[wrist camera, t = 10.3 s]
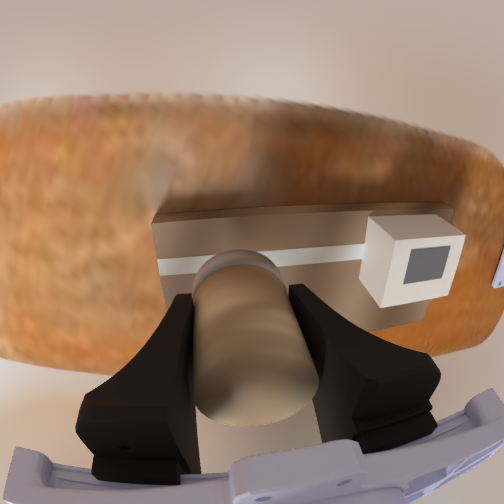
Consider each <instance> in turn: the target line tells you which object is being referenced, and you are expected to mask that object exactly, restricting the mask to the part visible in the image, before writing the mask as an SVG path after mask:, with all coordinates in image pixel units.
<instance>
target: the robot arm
mask: <svg viewBox="0 0 504 504" xmlns="http://www.w3.org/2000/svg"><path fill="white" fill-rule="evenodd" d="M492 286H493V287H494V288H498V287H502V286H504V249H503V252H502V256H501V259H500V262H499V265H498V268H497V271H496V273H495V276H494V279H493V282H492ZM288 298H289V300H290V303H291V306H292V308H293V311H294V313H295V316H296V319H297V321H298V324H299V326H300V329H301V331H302V334H303V337H304V339H305V342H306V345H307V347H308V350H309V352H310V355H311V358H312V360H313V363H314V366H315V368H316V371H317V374H318V377H319V386H318V389H317V392H316V394H315V395H314V397H313V398H312V400H313V404H314V408H315V412H316V416H317V421H318V425H319V429H320V434H321V439H322V443H321V444H316V445H311V446H306V447H301V448H295V449H289V450H283V451H277V452H270V453H263V454H258V455H253V456H249V457H245V458H243V459H241V460H238V461H236V462H234V463H233V464H232V465H231V467H230V469H229V471H228V472H227V473H212V474H201V467H200V458H199V448H198V437H197V424H196V409H195V402H194V397H193V312H194V306H193V300H192V293H186V294H177V295H176V296H175V297H174V299H173V301H172V303H171V305H170V307H169V309H168V311H167V313H166V314H165V316H164V318H163V319H162V321H161V323H160V324H159V326H158V327H157V329H156V330H155V332H154V333H153V334H152V336H151V337H150V339H149V340H148V341H147V343H146V344H145V345H144V346H143V348H142V349H141V350H140V351H139V352H138V353H137V354H136V355H135V357H134V358H133V359H132V360H131V361H130V362H129V363H128V364H127V365H125V366H124V367H123V368H122V369H121V370H120V371H119V372H117V373H116V374H115V375H114V376H112V377H111V378H110V379H109V380H107V381H106V382H104V383H103V384H101V385H100V386H98V387H97V388H95V389H93V390H92V391H90V392H89V393H87V394H85V397H84V399H83V402H82V404H81V407H80V410H79V415H78V418H77V423H76V427H75V428H76V433H77V435H78V436H79V438H80V439H81V440H82V442H83V443H84V444H85V445H86V446H87V448H88V449H89V450H90V451H91V452H92V453H93V454H94V457H93V463H92V469H86V468H79V467H73V466H67V465H62V464H56V463H52V462H51V460H50V459H49V458H48V457H47V456H45V455H44V454H42V453H40V452H38V451H34V450H30V449H25V448H21V447H15V450H14V454H13V457H12V461H11V464H10V468H9V473H8V476H7V481H6V485H5V489H4V494H3V499H4V500H5V501H6V502H8V503H9V504H409V503H411V502H413V501H415V500H417V499H419V498H421V497H423V496H425V495H427V494H429V493H431V492H432V491H435V490H437V489H438V488H440V487H442V486H444V485H445V484H447V483H449V482H451V481H452V480H454V479H456V478H457V477H459V476H461V475H462V474H464V473H466V472H467V471H469V470H471V469H472V468H474V467H476V466H477V465H479V464H480V463H482V462H483V461H485V460H487V459H488V458H489V457H490V456H492V455H493V454H494V453H495V452H496V451H497V450H498V449H499V448H500V447H501V446H502V445H503V444H504V404H503V402H502V401H501V400H500V398H499V397H498V395H497V394H496V393H495V391H494V390H493V388H490V389H488V390H486V391H484V392H482V393H480V394H478V395H476V396H475V397H473V398H472V399H471V400H470V401H469V402H468V403H467V405H466V406H465V408H464V410H462V411H460V412H457V413H455V414H453V415H451V416H449V417H446V418H444V419H442V420H439V421H437V422H436V421H435V419H434V417H433V415H432V414H431V412H430V410H432V405H431V403H430V402H429V399H430V397H431V396H432V394H433V392H434V391H435V389H436V387H437V385H438V383H439V381H440V378H441V373H440V370H439V369H438V367H437V366H436V364H435V363H434V361H433V360H432V359H431V357H430V356H429V355H428V354H426V353H422V352H418V351H414V350H411V349H407V348H404V347H401V346H398V345H395V344H393V343H390V342H388V341H385V340H383V339H381V338H379V337H377V336H375V335H372V334H371V333H369V332H367V331H365V330H363V329H362V328H360V327H358V326H356V325H355V324H353V323H352V322H350V321H348V320H347V319H346V318H344V317H343V316H341V315H340V314H339V313H337V312H336V311H335V310H333V309H332V308H331V307H330V306H328V305H327V304H326V303H325V302H324V301H322V300H321V299H320V298H319V297H318V296H317V295H315V294H314V293H313V292H312V291H311V290H310V289H309V288H308V287H306V286H305V285H304V284H303V283H302V284H292V285H289V291H288Z"/></svg>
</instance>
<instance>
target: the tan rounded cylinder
mask: <svg viewBox="0 0 504 504" xmlns="http://www.w3.org/2000/svg"><path fill="white" fill-rule="evenodd" d="M193 306H194V312H193V397H194V402H195V405H196V406H197V408H198V409H199V410H200V412H201V413H202V414H204V415H205V416H206V417H208V418H210V419H212V420H214V421H216V422H219V423H222V424H226V425H231V426H245V427H246V426H247V427H248V426H259V425H265V424H270V423H274V422H277V421H280V420H282V419H285V418H287V417H289V416H291V415H293V414H295V413H296V412H298V411H299V410H301V409H302V408H304V407H305V406H306V405H307V404H308V403H309V402H310V401H311V400H312V398H313V397H314V395H315V394H316V392H317V389H318V386H319V377H318V374H317V371H316V368H315V366H314V363H313V360H312V358H311V355H310V352H309V350H308V347H307V345H306V342H305V339H304V337H303V334H302V331H301V329H300V326H299V324H298V321H297V319H296V316H295V313H294V311H293V308H292V306H291V303H290V300H289V298H288V294H287V290H286V287H285V284H284V282H283V279H282V277H281V274H280V272H279V270H278V268H277V266H276V265H275V264H274V263H273V262H272V261H271V260H270V259H269V258H268V257H266V256H264V255H263V254H261V253H258V252H255V251H251V250H245V249H235V250H229V251H225V252H222V253H219V254H217V255H215V256H213V257H212V258H210V259H209V260H207V261H206V262H205V263H204V264H203V265H202V266H201V268H200V269H199V270H198V272H197V274H196V276H195V279H194V283H193Z"/></svg>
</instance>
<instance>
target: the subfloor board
mask: <svg viewBox="0 0 504 504" xmlns="http://www.w3.org/2000/svg"><path fill="white" fill-rule="evenodd" d="M453 212H454V209H453V208H452V207H450V206H448V205H447V204H445V203H443V202H401V203H346V204H316V205H292V206H271V207H253V208H237V209H222V210H208V211H194V212H182V213H170V214H158V215H155V216H154V218H153V221H152V223H151V224H152V231H153V237H154V243H155V250H156V255H157V262H158V267H159V273H160V278H161V283H162V288H163V294H164V299H165V304H166V308H167V311H168V309H169V307H170V305H171V303H172V301H173V299H174V297H175V296H176V295H177V294H186V293H192V300H193V283H194V279H195V276H196V274H197V272H198V270H199V269H200V268H201V266H202V265H203V264H204V263H205V262H206V261H207V260H209V259H210V258H212V257H213V256H215V255H217V254H219V253H222V252H225V251H229V250H235V249H245V250H251V251H255V252H258V253H261V254H263V255H264V256H266V257H268V258H269V259H270V260H271V261H272V262H273V263H274V264H275V265H276V266H277V268H278V270H279V272H280V274H281V277H282V279H283V282H284V284H285V287H286V290H287V294H288V291H289V285H292V284H302V283H303V284H304V285H305V286H306V287H308V288H309V289H310V290H311V291H312V292H313V293H314V294H315V295H317V296H318V297H319V298H320V299H321V300H322V301H324V302H325V303H326V304H327V305H328V306H330V307H331V308H332V309H333V310H335V311H336V312H337V313H339V314H340V315H341V316H343V317H344V318H346V319H347V320H348V321H350V322H352V323H353V324H355V325H356V326H358V327H360V328H362V329H363V330H365V331H367V332H369V331H375V330H380V329H385V328H390V327H395V326H399V325H404V324H409V323H413V322H418V321H422V320H423V318H424V315H425V313H426V310H427V307H428V304H429V301H430V299H427V300H422V301H417V302H412V303H407V304H401V305H396V306H390V307H384V308H380V307H379V306H378V304H377V303H376V302H375V300H374V299H373V297H372V296H371V295H370V293H369V292H368V291H367V289H366V288H365V286H364V285H363V284H362V282H361V281H360V280H359V274H360V268H361V262H362V256H363V250H364V243H365V237H366V230H367V222H368V216H394V215H426V214H436V215H438V216H439V217H441V218H442V219H444V220H445V221H447V222H448V223H450V224H451V222H452V217H453Z"/></svg>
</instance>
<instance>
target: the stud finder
mask: <svg viewBox="0 0 504 504" xmlns="http://www.w3.org/2000/svg"><path fill="white" fill-rule="evenodd" d="M465 236H466V235H465V234H464V233H462V232H461V231H460V230H458V229H457V228H455V227H454V226H452V225H451V224H450V223H448V222H447V221H445V220H444V219H442V218H441V217H439V216H438V215H436V214H426V215H394V216H368V222H367V230H366V237H365V243H364V250H363V256H362V262H361V268H360V274H359V280H360V281H361V282H362V284H363V285H364V286H365V288H366V289H367V291H368V292H369V293H370V295H371V296H372V297H373V299H374V300H375V302H376V303H377V304H378V306H379V307H380V308H384V307H390V306H396V305H401V304H407V303H412V302H417V301H422V300H427V299H432V298H437V297H442V296H447V295H448V293H449V290H450V287H451V284H452V281H453V278H454V275H455V272H456V268H457V265H458V262H459V258H460V255H461V251H462V248H463V244H464V240H465Z"/></svg>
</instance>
